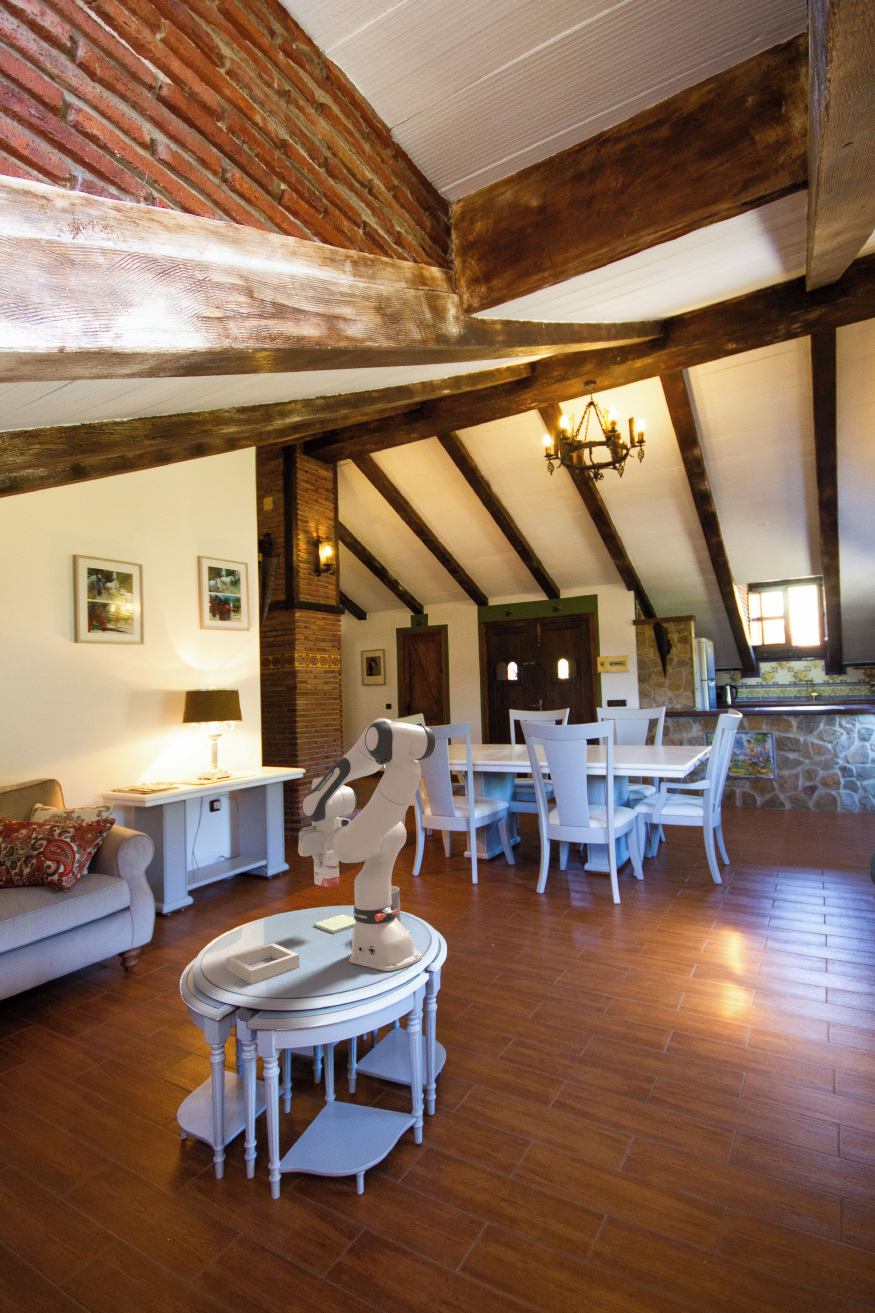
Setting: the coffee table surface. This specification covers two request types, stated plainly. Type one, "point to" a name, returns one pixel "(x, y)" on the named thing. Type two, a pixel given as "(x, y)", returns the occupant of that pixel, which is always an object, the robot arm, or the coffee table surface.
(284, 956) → the cartridge dock
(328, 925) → the cream square pad
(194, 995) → the coffee table surface
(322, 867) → the ink cartridge box
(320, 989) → the coffee table surface
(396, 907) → the pillar candle
